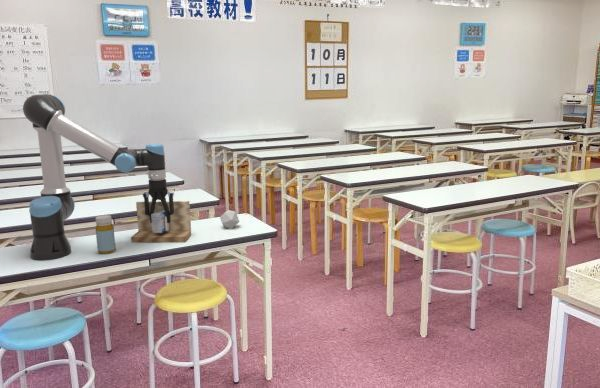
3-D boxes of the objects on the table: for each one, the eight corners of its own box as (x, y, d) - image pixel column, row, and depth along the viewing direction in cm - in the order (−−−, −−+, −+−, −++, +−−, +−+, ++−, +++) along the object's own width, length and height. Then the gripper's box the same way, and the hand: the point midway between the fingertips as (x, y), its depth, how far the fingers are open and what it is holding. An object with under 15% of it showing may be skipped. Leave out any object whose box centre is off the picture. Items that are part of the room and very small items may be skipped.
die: (225, 225, 253) (214, 212, 246) (240, 216, 252) (230, 203, 246) (228, 235, 246) (218, 222, 240) (244, 226, 246) (234, 212, 240)
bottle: (117, 248, 217) (113, 214, 214) (114, 253, 210) (110, 218, 207) (99, 249, 216) (96, 215, 213) (96, 254, 209) (92, 219, 206)
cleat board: (131, 242, 225) (128, 207, 221) (139, 235, 236) (137, 201, 233) (185, 242, 224) (183, 206, 221) (191, 234, 235) (189, 201, 232)
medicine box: (161, 233, 225) (160, 214, 223) (152, 232, 225) (150, 213, 224) (169, 228, 232) (168, 210, 230) (160, 228, 233) (159, 209, 231)
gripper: (134, 180, 221) (138, 232, 225) (175, 180, 220) (178, 232, 225) (139, 177, 228) (143, 227, 233) (179, 177, 227) (183, 227, 232)
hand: (161, 229), depth 229 cm, fingers closed on medicine box, 5 cm apart
